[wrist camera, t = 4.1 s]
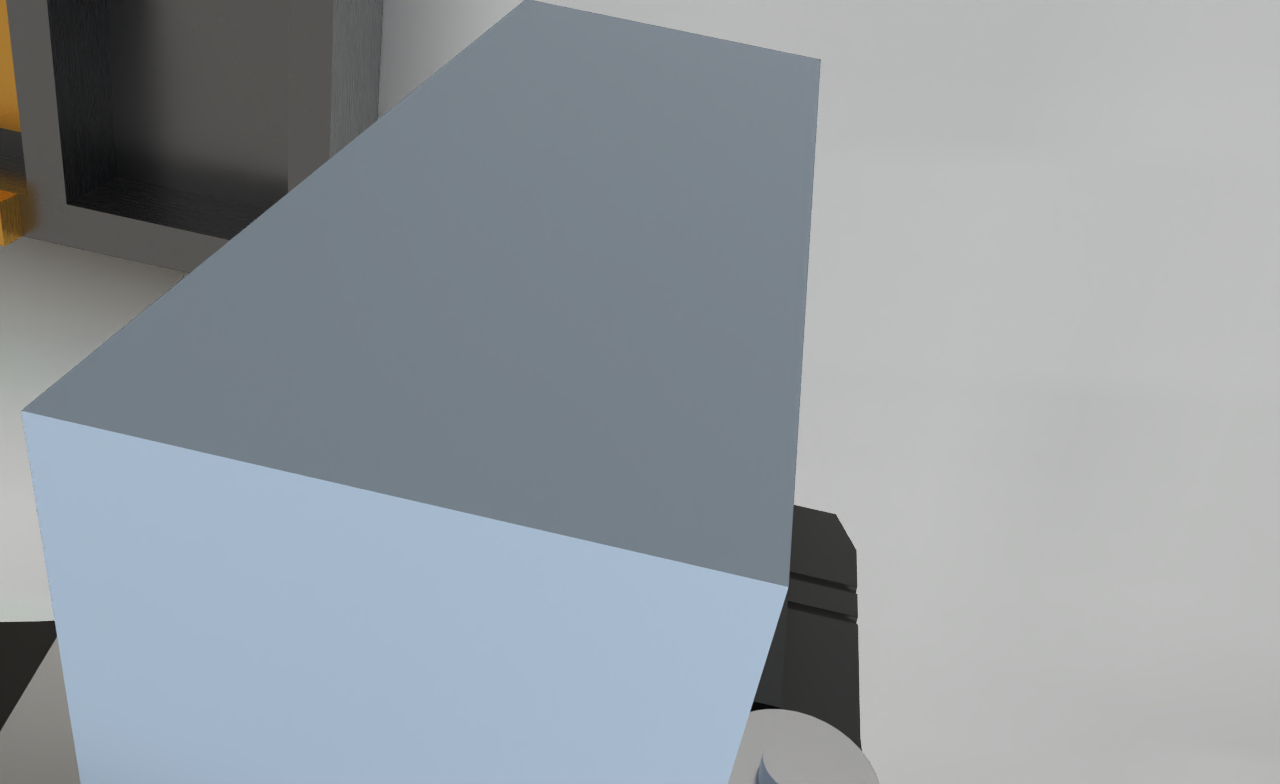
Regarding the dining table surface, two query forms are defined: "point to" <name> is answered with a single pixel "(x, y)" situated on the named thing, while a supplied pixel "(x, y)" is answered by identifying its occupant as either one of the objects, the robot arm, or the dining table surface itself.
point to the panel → (457, 438)
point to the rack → (173, 116)
